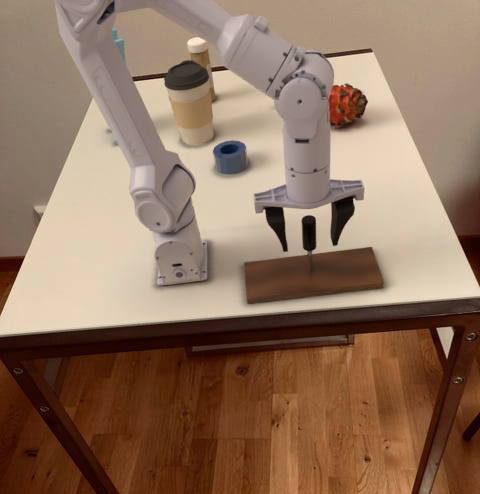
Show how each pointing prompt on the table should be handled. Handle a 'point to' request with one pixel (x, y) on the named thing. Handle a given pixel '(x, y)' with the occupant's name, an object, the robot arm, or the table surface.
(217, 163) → the utensil cup
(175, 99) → the coffee cup
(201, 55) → the sprinkles bottle
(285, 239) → the robot arm
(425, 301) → the table surface
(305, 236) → the screwdriver
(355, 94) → the dragon fruit
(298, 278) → the cutting board
